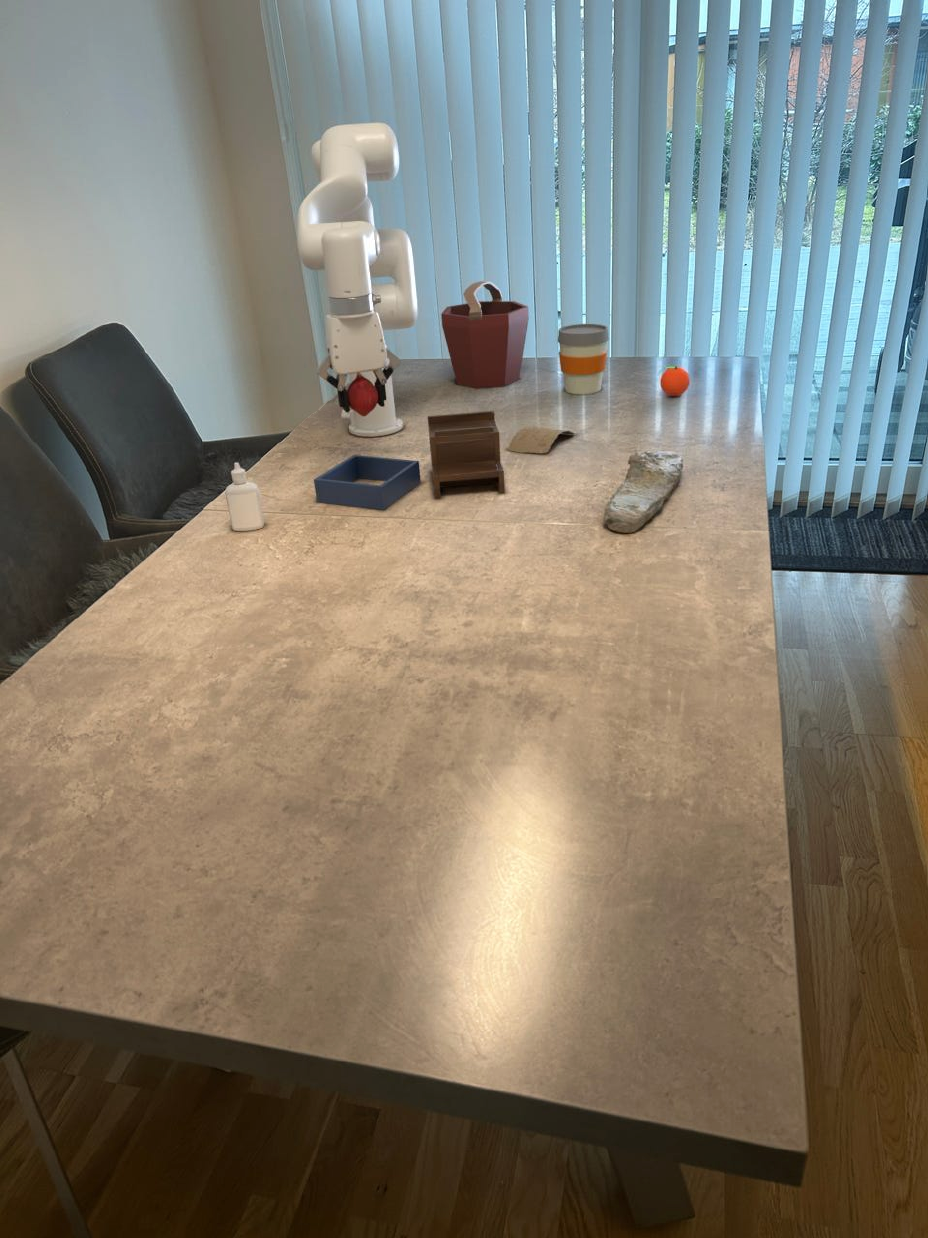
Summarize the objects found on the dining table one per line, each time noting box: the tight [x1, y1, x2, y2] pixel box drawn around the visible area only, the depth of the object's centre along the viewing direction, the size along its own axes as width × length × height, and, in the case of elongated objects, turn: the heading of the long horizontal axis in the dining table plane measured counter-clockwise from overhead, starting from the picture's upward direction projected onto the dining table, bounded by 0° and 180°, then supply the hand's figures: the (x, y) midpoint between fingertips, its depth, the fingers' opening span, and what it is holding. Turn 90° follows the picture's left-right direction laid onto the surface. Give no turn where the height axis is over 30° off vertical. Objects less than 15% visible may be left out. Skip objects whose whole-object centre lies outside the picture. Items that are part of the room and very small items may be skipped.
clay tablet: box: [507, 425, 576, 454], centre depth 190 cm, size 14×10×3 cm
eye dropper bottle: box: [224, 462, 265, 532], centre depth 156 cm, size 4×6×12 cm
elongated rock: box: [602, 450, 684, 534], centre depth 159 cm, size 35×5×10 cm
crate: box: [313, 454, 422, 511], centre depth 169 cm, size 15×15×4 cm
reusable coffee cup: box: [557, 323, 610, 395], centre depth 222 cm, size 13×13×15 cm
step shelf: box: [427, 410, 506, 500], centre depth 169 cm, size 15×13×12 cm
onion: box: [346, 373, 378, 416], centre depth 162 cm, size 6×6×8 cm
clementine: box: [657, 365, 691, 397], centre depth 214 cm, size 8×7×7 cm
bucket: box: [440, 280, 530, 389], centre depth 235 cm, size 24×22×25 cm
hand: (363, 406), depth 163 cm, fingers closed on onion, 5 cm apart
